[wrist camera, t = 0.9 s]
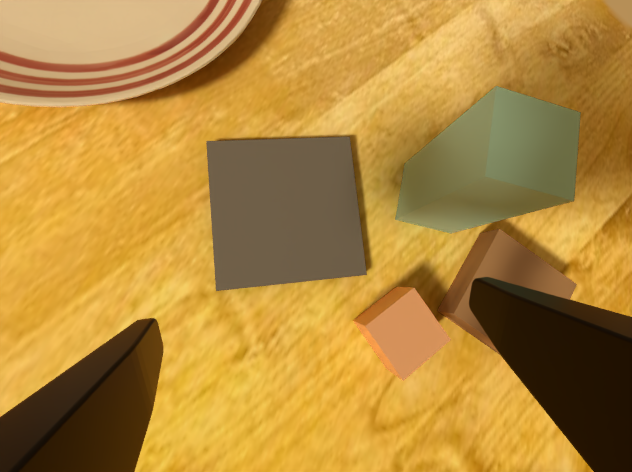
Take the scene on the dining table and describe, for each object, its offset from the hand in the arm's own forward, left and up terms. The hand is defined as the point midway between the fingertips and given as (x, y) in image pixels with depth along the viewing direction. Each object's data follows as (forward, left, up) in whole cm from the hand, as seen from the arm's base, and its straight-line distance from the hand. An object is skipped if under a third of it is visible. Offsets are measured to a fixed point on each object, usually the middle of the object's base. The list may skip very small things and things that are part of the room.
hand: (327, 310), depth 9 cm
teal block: (-1, -12, -13) cm, 18 cm away
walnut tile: (-10, -11, -14) cm, 21 cm away
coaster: (+5, -3, -13) cm, 14 cm away
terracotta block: (-6, -4, -10) cm, 13 cm away
